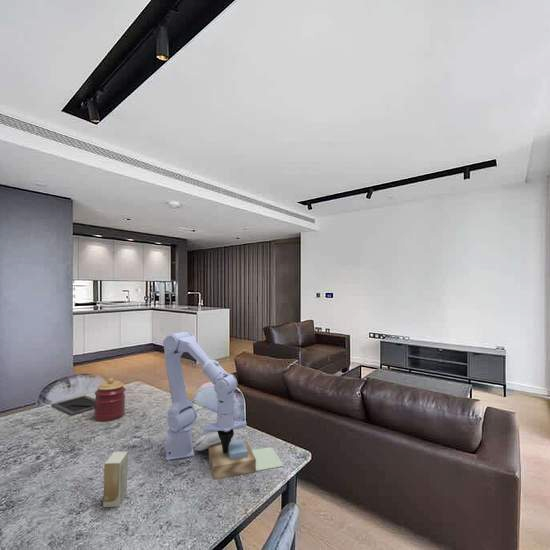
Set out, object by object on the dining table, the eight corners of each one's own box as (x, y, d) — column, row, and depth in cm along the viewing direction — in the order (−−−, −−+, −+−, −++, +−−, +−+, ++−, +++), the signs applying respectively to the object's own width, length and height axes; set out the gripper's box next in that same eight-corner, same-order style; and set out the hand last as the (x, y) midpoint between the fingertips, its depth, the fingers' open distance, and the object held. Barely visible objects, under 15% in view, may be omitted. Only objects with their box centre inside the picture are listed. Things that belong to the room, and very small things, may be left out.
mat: (255, 471, 104) (255, 470, 104) (246, 452, 117) (246, 451, 117) (283, 466, 107) (283, 465, 108) (272, 447, 120) (272, 447, 120)
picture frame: (105, 406, 160) (84, 398, 171) (105, 402, 160) (84, 394, 171) (71, 417, 146) (51, 407, 158) (71, 412, 147) (51, 403, 158)
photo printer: (231, 425, 119) (200, 434, 111) (234, 437, 117) (203, 447, 109) (220, 432, 125) (191, 442, 118) (223, 444, 123) (193, 454, 116)
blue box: (230, 460, 104) (230, 454, 104) (225, 447, 112) (225, 441, 112) (247, 457, 106) (247, 451, 106) (241, 444, 114) (241, 439, 114)
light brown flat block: (213, 479, 100) (213, 466, 100) (208, 458, 112) (208, 446, 112) (255, 471, 104) (255, 459, 104) (246, 452, 117) (246, 441, 117)
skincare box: (112, 493, 92) (113, 451, 93) (127, 492, 93) (128, 450, 93) (102, 508, 86) (103, 463, 87) (118, 507, 86) (119, 462, 87)
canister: (130, 414, 149) (131, 377, 150) (103, 424, 138) (104, 384, 139) (115, 408, 156) (116, 372, 157) (88, 417, 145) (89, 379, 146)
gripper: (205, 418, 102) (204, 461, 102) (248, 413, 107) (248, 454, 106) (203, 410, 109) (202, 450, 108) (244, 406, 113) (243, 444, 113)
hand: (224, 451), depth 108 cm, fingers closed
